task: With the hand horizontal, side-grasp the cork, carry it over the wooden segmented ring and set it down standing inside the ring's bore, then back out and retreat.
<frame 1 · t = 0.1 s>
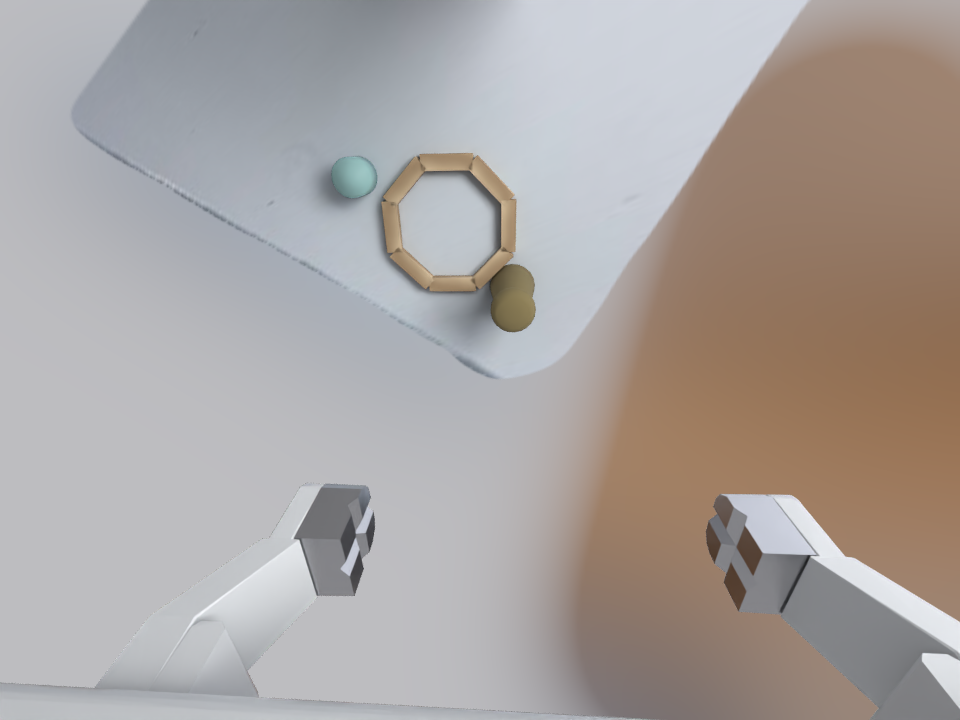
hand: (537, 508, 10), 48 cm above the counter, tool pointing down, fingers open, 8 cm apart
wooden segmented ring: (450, 225, 54), on the counter
loose bead: (359, 176, 52), on the counter
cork: (512, 285, 57), on the counter
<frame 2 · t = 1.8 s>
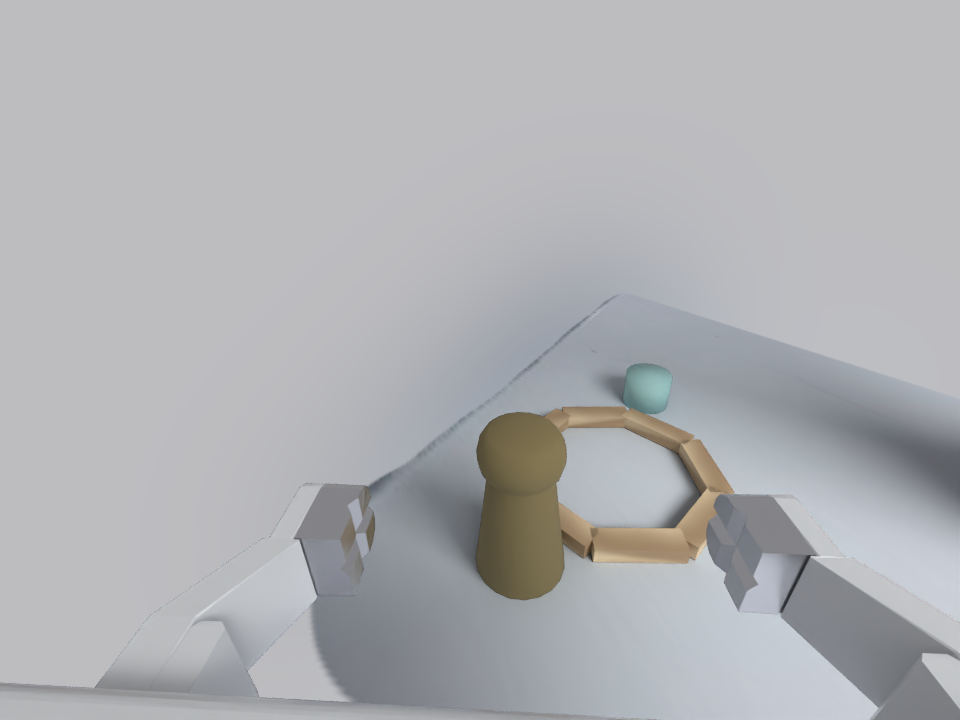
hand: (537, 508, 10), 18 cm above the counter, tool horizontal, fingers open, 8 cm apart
wooden segmented ring: (611, 474, 35), on the counter
loose bead: (644, 402, 45), on the counter
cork: (519, 559, 29), on the counter
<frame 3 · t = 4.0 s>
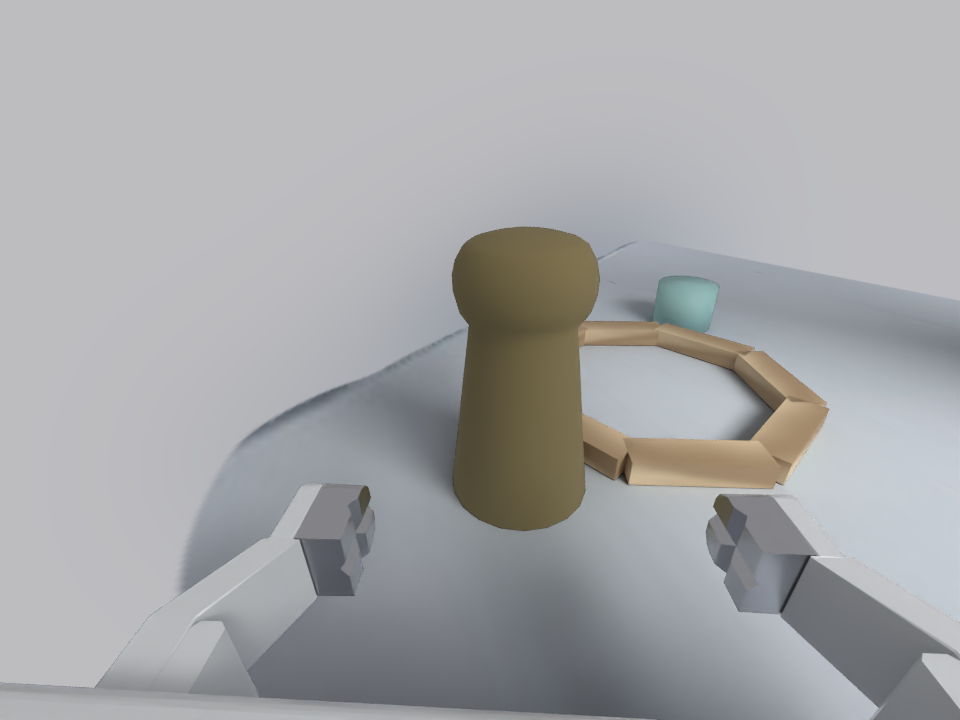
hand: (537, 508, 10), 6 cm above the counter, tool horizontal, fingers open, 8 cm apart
wooden segmented ring: (645, 389, 26), on the counter
loose bead: (679, 323, 35), on the counter
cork: (518, 480, 19), on the counter
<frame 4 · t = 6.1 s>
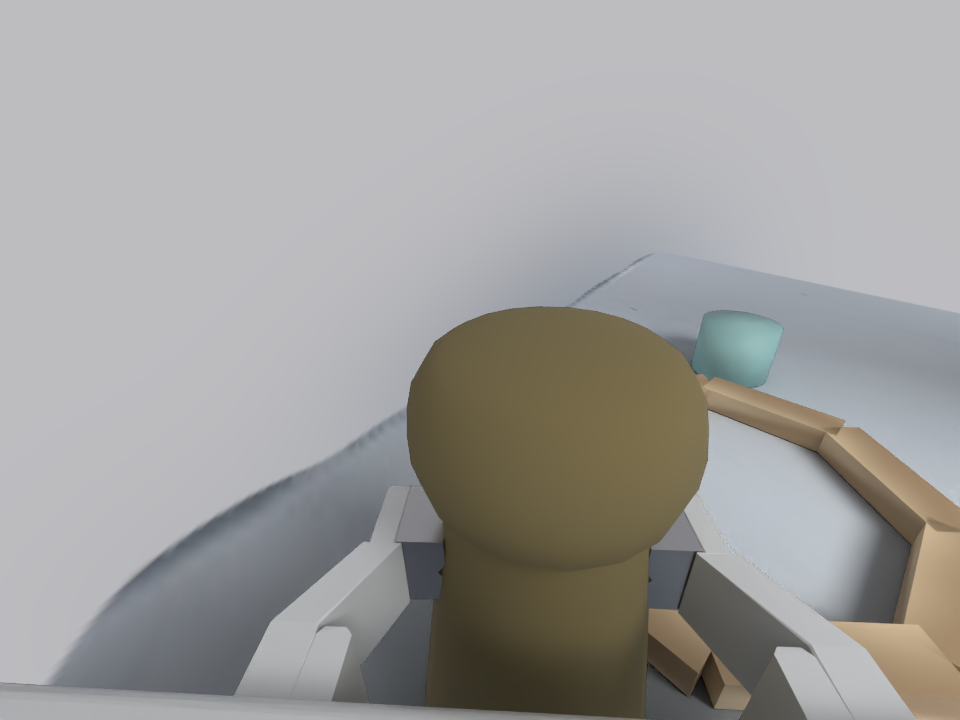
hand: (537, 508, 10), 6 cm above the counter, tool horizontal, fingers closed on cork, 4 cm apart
wooden segmented ring: (703, 488, 19), on the counter
loose bead: (727, 371, 28), on the counter
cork: (531, 690, 12), on the counter, touching gripper
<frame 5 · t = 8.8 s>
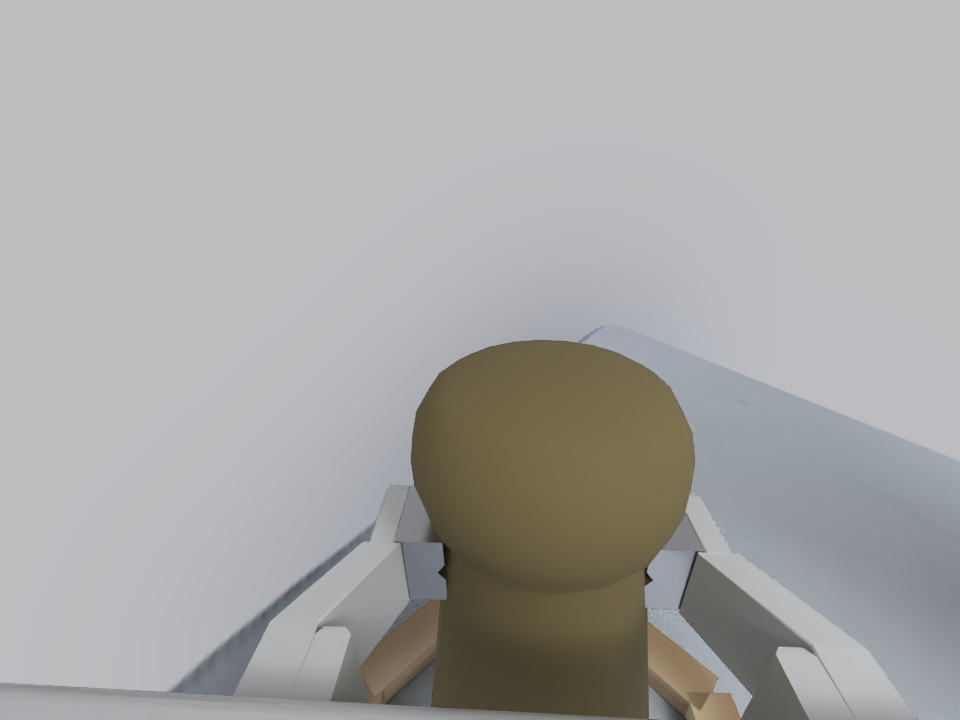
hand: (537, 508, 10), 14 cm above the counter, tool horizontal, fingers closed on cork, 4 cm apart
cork: (535, 718, 12), point 7 cm above the counter, touching gripper
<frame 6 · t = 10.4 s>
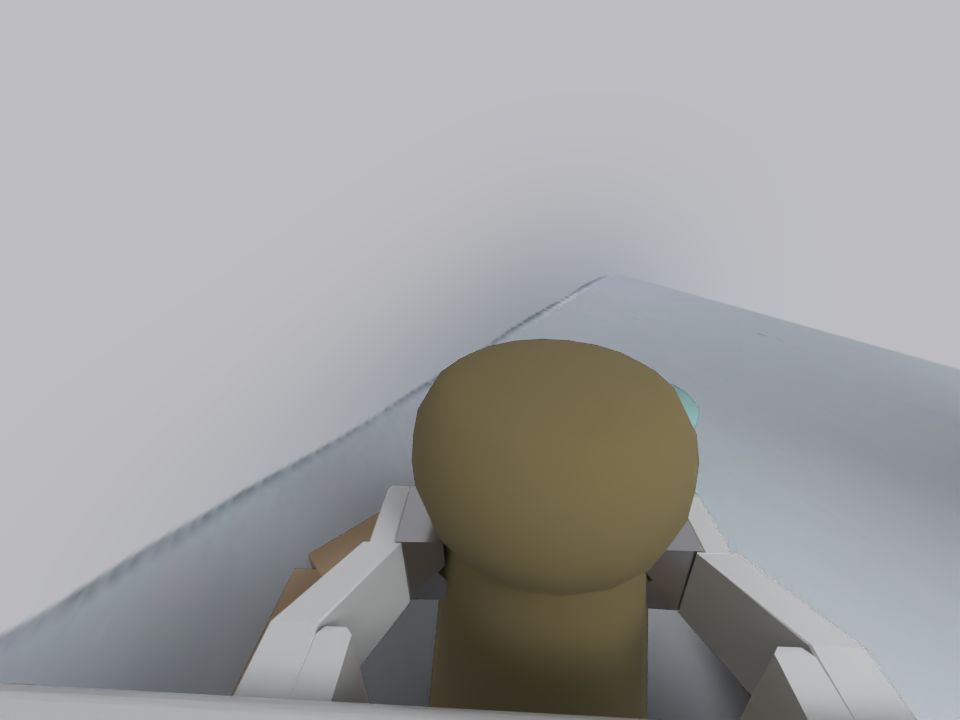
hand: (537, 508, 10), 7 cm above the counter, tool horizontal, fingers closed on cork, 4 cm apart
wooden segmented ring: (530, 700, 12), on the counter
loose bead: (636, 456, 22), on the counter
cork: (533, 718, 12), resting in wooden segmented ring, touching gripper
when the fingers open (7 cm above the counter, at t = 10.4 s): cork stays where it is, resting in wooden segmented ring.
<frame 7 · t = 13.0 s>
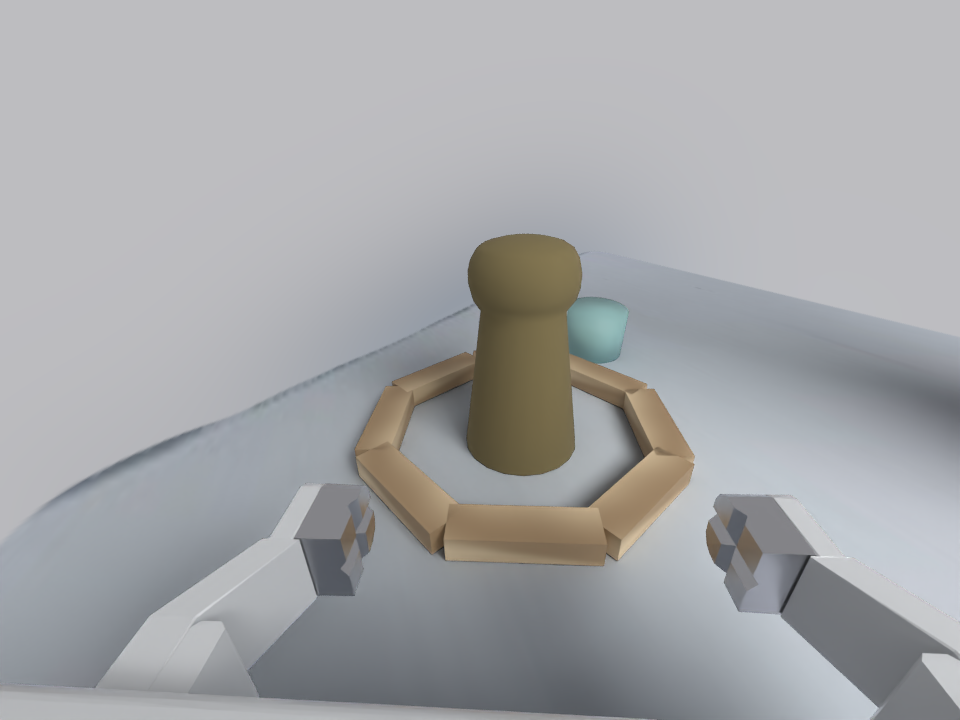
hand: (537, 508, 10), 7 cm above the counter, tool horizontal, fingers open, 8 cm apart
wooden segmented ring: (518, 433, 24), on the counter
loose bead: (591, 349, 33), on the counter
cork: (520, 440, 24), resting in wooden segmented ring
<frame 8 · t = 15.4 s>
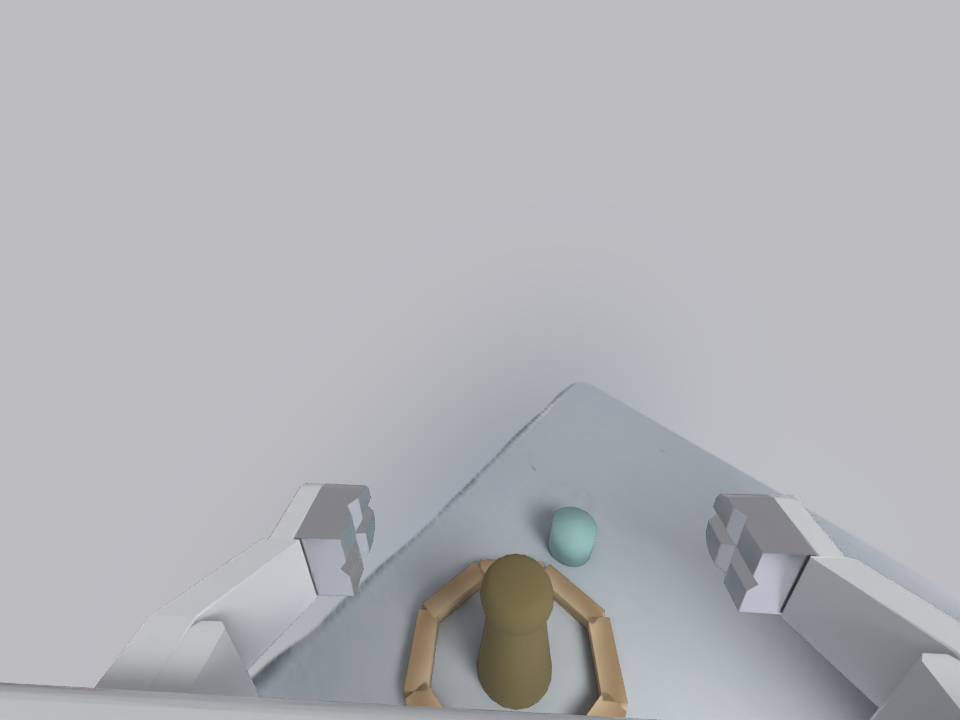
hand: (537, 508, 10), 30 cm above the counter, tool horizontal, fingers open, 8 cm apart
wooden segmented ring: (513, 659, 34), on the counter
loose bead: (569, 547, 44), on the counter
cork: (514, 666, 34), resting in wooden segmented ring
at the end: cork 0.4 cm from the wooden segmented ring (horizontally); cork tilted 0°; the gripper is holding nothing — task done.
